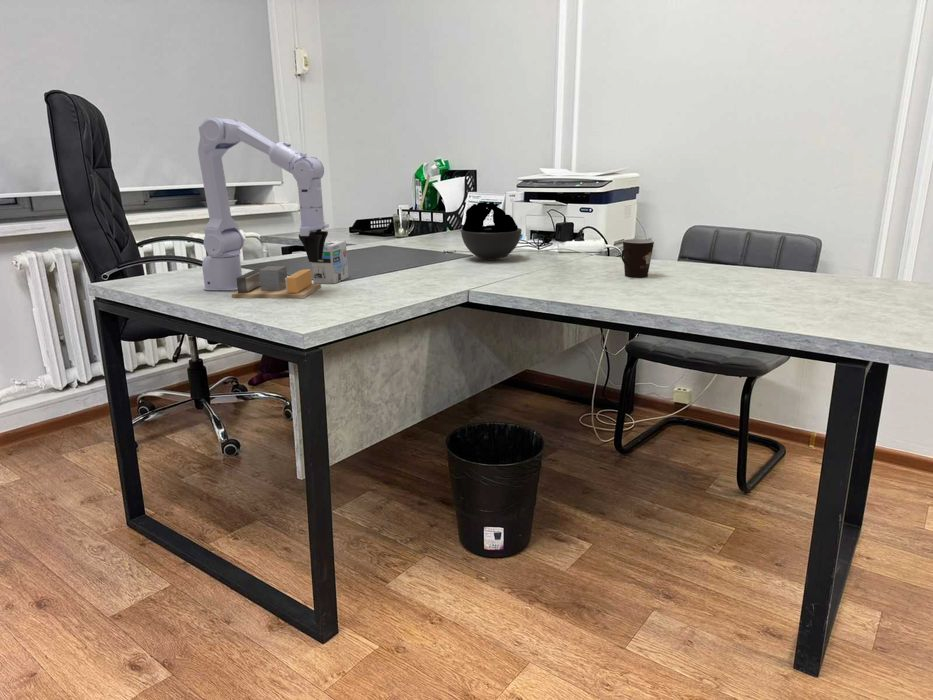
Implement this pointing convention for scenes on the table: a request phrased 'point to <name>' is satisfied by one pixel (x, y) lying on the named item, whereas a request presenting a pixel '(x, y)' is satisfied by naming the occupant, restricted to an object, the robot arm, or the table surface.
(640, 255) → the coffee mug
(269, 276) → the steel block
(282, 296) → the vise
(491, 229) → the coal bowl
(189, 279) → the table surface
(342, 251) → the light bulb box
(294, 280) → the block
